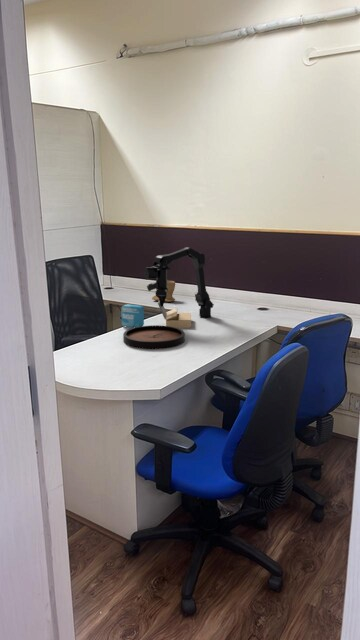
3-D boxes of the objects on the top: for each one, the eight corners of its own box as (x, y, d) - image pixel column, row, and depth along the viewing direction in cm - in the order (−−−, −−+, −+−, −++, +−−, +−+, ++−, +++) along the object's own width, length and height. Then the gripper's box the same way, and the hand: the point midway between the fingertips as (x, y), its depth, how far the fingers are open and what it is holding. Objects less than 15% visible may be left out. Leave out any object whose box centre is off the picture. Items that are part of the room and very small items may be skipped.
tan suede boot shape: (178, 300, 347) (178, 279, 343) (170, 303, 337) (170, 282, 333) (160, 298, 354) (159, 277, 350) (151, 301, 344) (151, 280, 340)
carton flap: (177, 308, 290) (170, 293, 288) (176, 315, 273) (169, 299, 271) (166, 313, 291) (159, 298, 288) (164, 320, 274) (157, 304, 272)
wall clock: (132, 344, 231) (116, 328, 259) (133, 352, 232) (116, 335, 260) (194, 338, 242) (172, 323, 270) (194, 346, 243) (172, 330, 271)
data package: (121, 326, 278) (121, 305, 275) (125, 324, 282) (124, 304, 279) (140, 328, 274) (140, 307, 271) (144, 326, 278) (143, 305, 275)
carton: (190, 320, 292) (190, 312, 291) (191, 328, 274) (191, 320, 273) (167, 320, 292) (167, 312, 291) (166, 327, 274) (166, 319, 273)
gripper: (148, 275, 286) (149, 301, 290) (146, 280, 268) (146, 308, 272) (167, 275, 286) (168, 301, 289) (166, 280, 268) (166, 308, 271)
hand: (162, 304), depth 280 cm, fingers open, 9 cm apart
